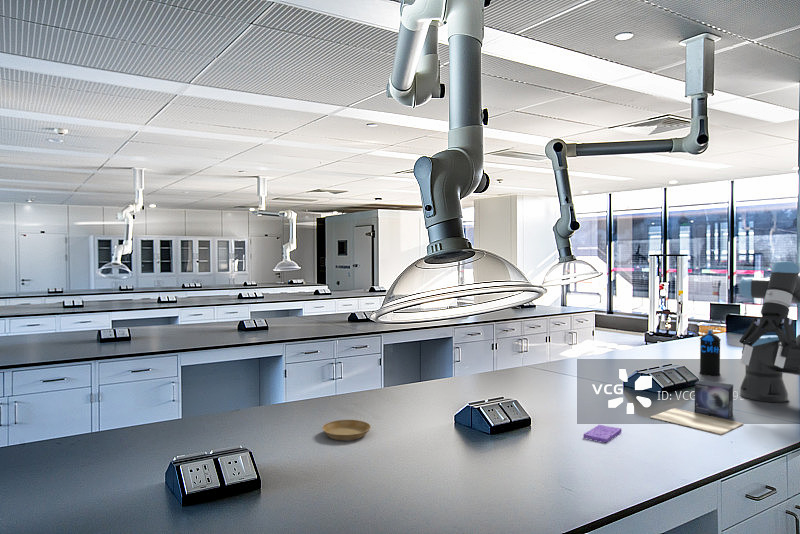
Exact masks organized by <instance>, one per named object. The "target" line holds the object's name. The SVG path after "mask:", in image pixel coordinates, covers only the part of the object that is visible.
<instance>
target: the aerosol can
mask: <svg viewBox="0 0 800 534" xmlns="http://www.w3.org/2000/svg"><path fill="white" fill-rule="evenodd" d="M713 330H714V329H712V328H708V329H707V333H706V334H704V335H701V337H699V340H700V341H699V342H700V345H699V346H700V347H699V349H700V350H699V352H700V353H699V355H700V356H699V360H700V361H699V364H700V365H699V374H700V375H703V376H709V377H719V376H721V341H722V340H721V338H720V337H719V336H718V335H716V334H714V331H713Z"/></svg>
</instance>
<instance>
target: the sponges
mask: <svg viewBox="0 0 800 534" xmlns="http://www.w3.org/2000/svg"><path fill="white" fill-rule="evenodd" d="M622 431H623V430H622V428H621V427H614V426H608V425H603V424H598V425H597V426H594V427H593V428H591V429H590V430H588V431H586V432H584V433H583V439H584V438H587V439H586V440H589V439H592V440H591V441H594V440H597V441H596V442H598V441H601V442H600V443H603V442H606V443H605V444H608V443H609V442H610V441H611V439H612V438H613V439H614V437H615V436H616V437H617V436H619V435H620V434H621V433H622ZM618 434H619V435H618ZM616 437H615V438H616ZM613 439H612V440H613ZM608 441H609V442H608ZM607 442H608V443H607Z"/></svg>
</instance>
